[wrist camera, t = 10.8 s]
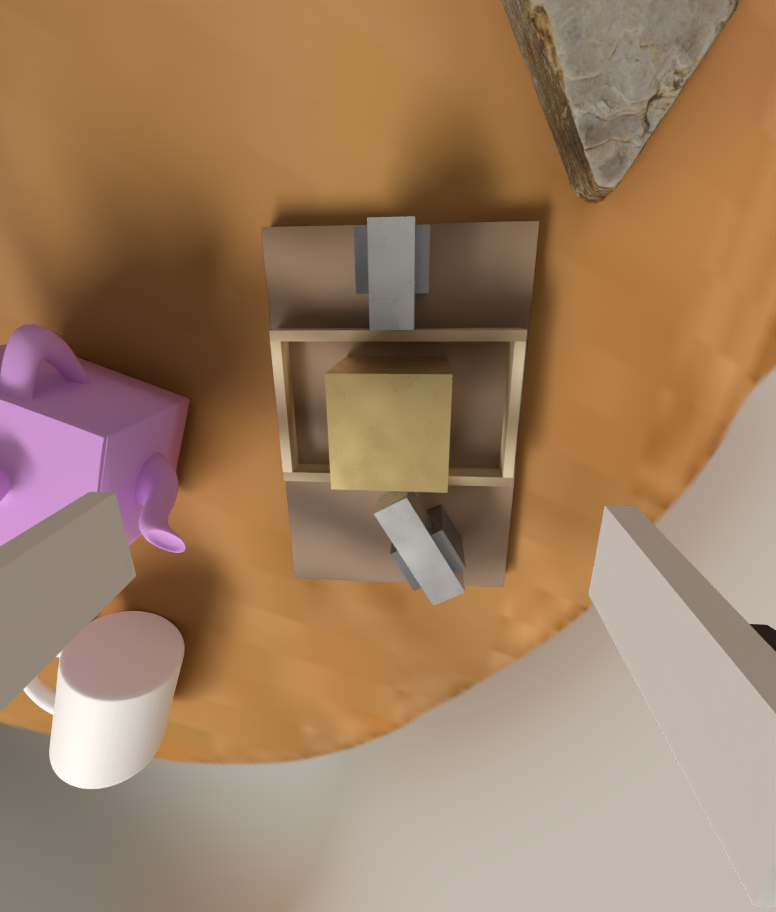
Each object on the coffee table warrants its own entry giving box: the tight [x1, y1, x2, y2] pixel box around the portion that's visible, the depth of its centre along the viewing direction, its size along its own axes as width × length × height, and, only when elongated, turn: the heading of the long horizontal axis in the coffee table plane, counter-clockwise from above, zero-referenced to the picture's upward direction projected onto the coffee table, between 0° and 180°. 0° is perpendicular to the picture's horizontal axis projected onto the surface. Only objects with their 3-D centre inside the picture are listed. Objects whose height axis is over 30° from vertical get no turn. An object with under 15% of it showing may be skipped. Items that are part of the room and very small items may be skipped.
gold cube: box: [325, 356, 453, 493], centre depth 25 cm, size 6×6×6 cm
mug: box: [23, 611, 185, 789], centre depth 34 cm, size 12×10×8 cm
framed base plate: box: [261, 221, 539, 587], centre depth 28 cm, size 23×15×3 cm, turn 1°
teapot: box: [0, 324, 190, 553], centre depth 26 cm, size 15×13×11 cm
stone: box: [501, 0, 738, 203], centre depth 20 cm, size 15×8×3 cm, turn 29°
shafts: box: [354, 216, 466, 606], centre depth 26 cm, size 22×6×4 cm, turn 1°
